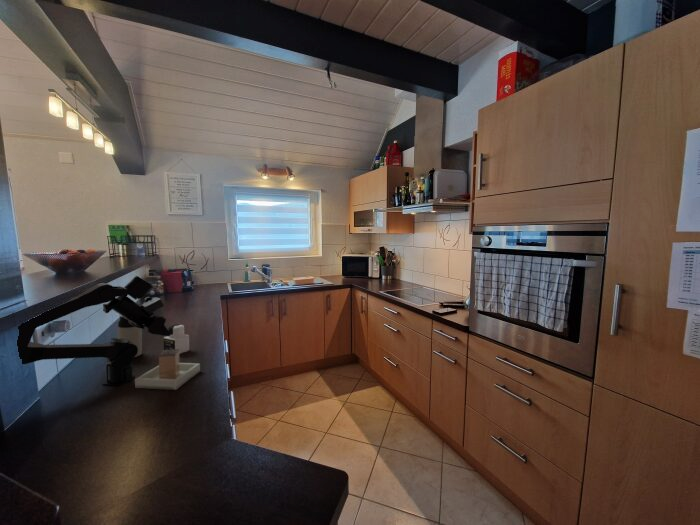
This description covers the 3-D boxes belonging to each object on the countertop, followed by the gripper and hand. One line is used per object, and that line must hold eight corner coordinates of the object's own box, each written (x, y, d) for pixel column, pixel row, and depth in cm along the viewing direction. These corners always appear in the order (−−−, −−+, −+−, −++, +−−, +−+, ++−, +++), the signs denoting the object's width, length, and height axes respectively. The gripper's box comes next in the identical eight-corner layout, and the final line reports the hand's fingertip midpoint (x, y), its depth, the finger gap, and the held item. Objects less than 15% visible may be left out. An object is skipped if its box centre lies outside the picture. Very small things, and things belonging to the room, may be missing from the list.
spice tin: (159, 380, 99) (158, 355, 99) (163, 374, 104) (163, 350, 104) (175, 379, 101) (175, 353, 100) (179, 373, 106) (179, 348, 105)
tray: (135, 387, 96) (135, 379, 96) (164, 369, 110) (164, 362, 110) (176, 389, 95) (176, 380, 95) (200, 371, 109) (199, 363, 109)
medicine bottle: (163, 353, 126) (162, 326, 125) (178, 348, 133) (178, 322, 132) (174, 355, 123) (174, 328, 123) (189, 350, 130) (189, 324, 129)
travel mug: (131, 360, 118) (131, 316, 117) (112, 358, 119) (112, 315, 117) (146, 352, 126) (146, 312, 125) (129, 351, 127) (129, 311, 125)
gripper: (159, 294, 101) (191, 319, 110) (137, 288, 111) (168, 312, 121) (132, 321, 95) (169, 345, 104) (112, 312, 105) (147, 335, 115)
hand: (164, 332), depth 111 cm, fingers open, 9 cm apart
